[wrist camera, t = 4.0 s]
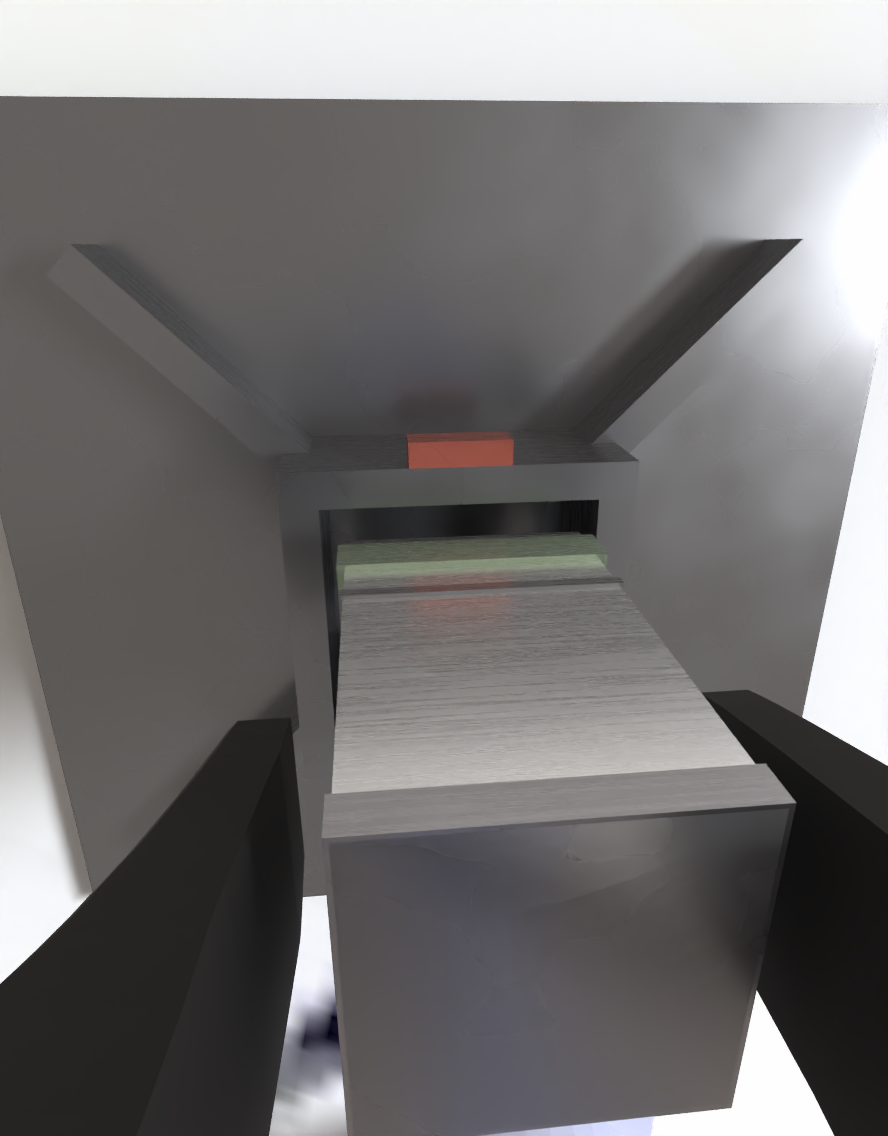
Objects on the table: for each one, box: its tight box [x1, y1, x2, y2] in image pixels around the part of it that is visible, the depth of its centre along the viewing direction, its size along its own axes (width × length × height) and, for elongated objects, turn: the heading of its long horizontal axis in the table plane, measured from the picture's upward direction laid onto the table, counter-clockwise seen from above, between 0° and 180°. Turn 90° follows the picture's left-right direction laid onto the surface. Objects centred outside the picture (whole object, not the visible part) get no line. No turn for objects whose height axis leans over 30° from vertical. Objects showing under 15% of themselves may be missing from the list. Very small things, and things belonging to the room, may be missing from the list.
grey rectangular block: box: [322, 532, 796, 1136], centre depth 10 cm, size 4×4×6 cm
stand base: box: [0, 96, 888, 897], centre depth 14 cm, size 16×16×3 cm
